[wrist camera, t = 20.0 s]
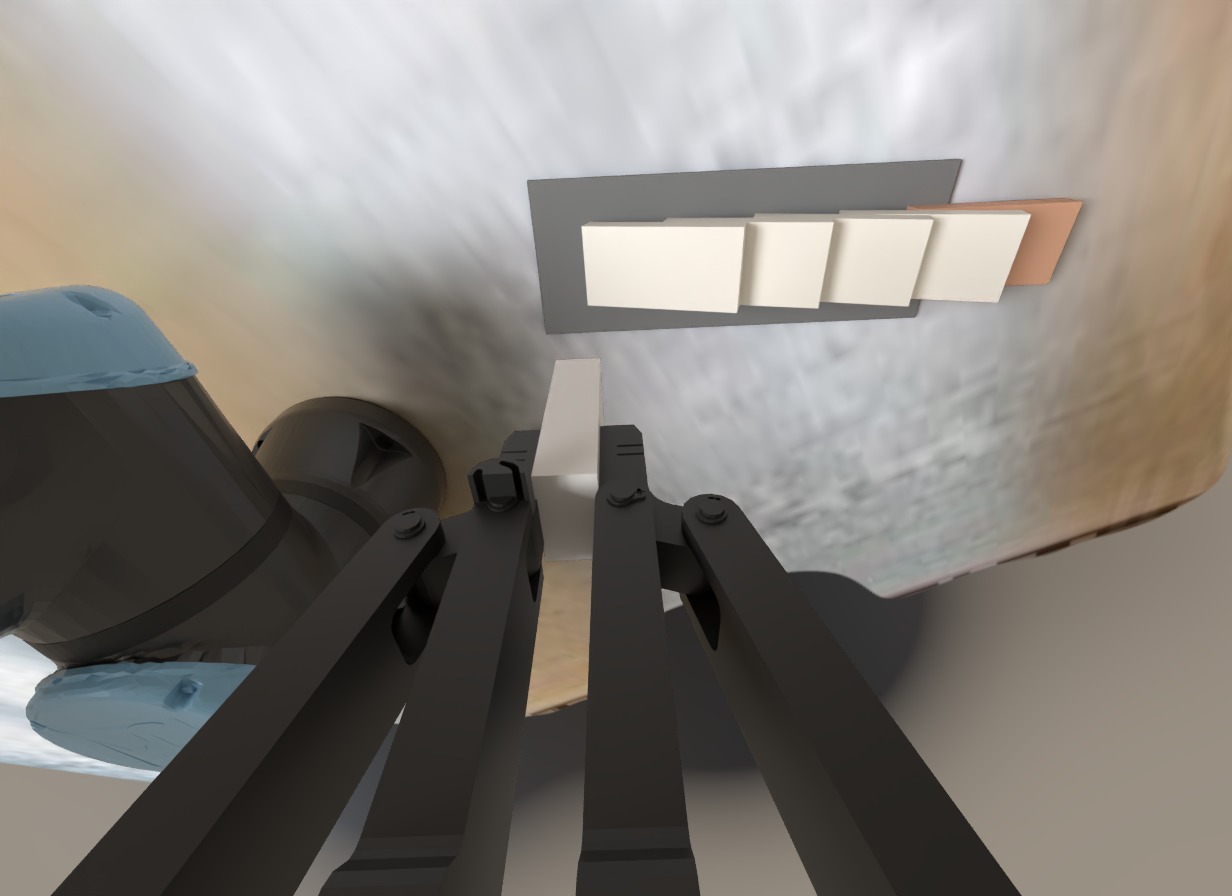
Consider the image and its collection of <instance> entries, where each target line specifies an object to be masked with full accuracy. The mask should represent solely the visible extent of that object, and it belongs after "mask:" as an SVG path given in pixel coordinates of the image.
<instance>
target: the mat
mask: <svg viewBox="0 0 1232 896" xmlns="http://www.w3.org/2000/svg"><path fill="white" fill-rule="evenodd" d="M960 163H961V159H948V160H927V161H907V162H887V163H867V164H847V165H827V166H806V167H786V168H766V169H746V170H726V171H705V172H685V173H665V174H645V175H625V176H604V177H584V178H564V179H544V180H528V181H527V185H528V193H529V201H530V209H531V217H532V225H533V233H534V241H535V249H536V257H537V265H538V273H539V281H540V289H541V297H542V305H543V313H544V321H545V329H546V334H562V333H584V332H606V331H627V330H649V329H671V328H693V327H715V326H737V325H759V324H781V323H803V322H825V321H847V320H869V319H891V318H913V317H915V315H916V312H917V308H918V305H919V301H920V299H910V303H909V306H908V307H907V306H889V305H871V304H853V303H835V302H819V307H818V309H817V308H795V307H772V306H749V305H740V306H739V309H738V312H737V313H726V312H706V311H687V310H667V309H648V308H629V307H609V306H590V305H588V302H587V290H586V277H585V265H584V252H583V240H582V227H581V226H583V225H585V224H587V223H589V222H663V221H664V220H666V219H667V218H753V217H754V215H755V213H781V214H839V211H840V210H906V209H907V206H919V205H939V204H948V203H949V200H950V197H951V193H952V190H953V186H954V183H955V180H956V176H957V173H958V169H959V166H960Z"/></svg>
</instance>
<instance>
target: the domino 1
mask: <svg viewBox="0 0 1232 896" xmlns="http://www.w3.org/2000/svg"><path fill="white" fill-rule="evenodd" d="M581 227H582V240H583V252H584V265H585V277H586V290H587V302H588V305H590V306H609V307H629V308H648V309H667V310H687V311H706V312H726V313H737V312H738V309H739V306H740V296H741V285H742V274H743V262H744V251H745V240H746V229H747V222H589V223H587V224H585V225H583V226H581Z"/></svg>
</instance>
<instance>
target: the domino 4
mask: <svg viewBox="0 0 1232 896" xmlns="http://www.w3.org/2000/svg"><path fill="white" fill-rule="evenodd" d="M839 214H878V215H929V216H930V217H931V218H932V219H934V221H933V224H932V227H931V231H930V234H929V238H928V241H927V245H926V248H925V251H924V255H923V258H922V262H921V265H920V268H919V272H918V275H917V279H916V282H915V286H914V289H913V292H912V296H911V299H929V300H952V301H976V302H998V301H999V298H1000V296H1001V293H1002V290H1003V288H1004V285H1005V282H1006V280H1007V277H1008V274H1009V272H1010V269H1011V267H1012V264H1013V261H1014V259H1015V256H1016V253H1017V251H1018V248H1019V246H1020V243H1021V240H1022V238H1023V235H1024V232H1025V230H1026V227H1027V225H1028V222H1029V219H1030V217H1031V214H1029V213H1027V212H1025V211H1023V210H840V211H839Z"/></svg>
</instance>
